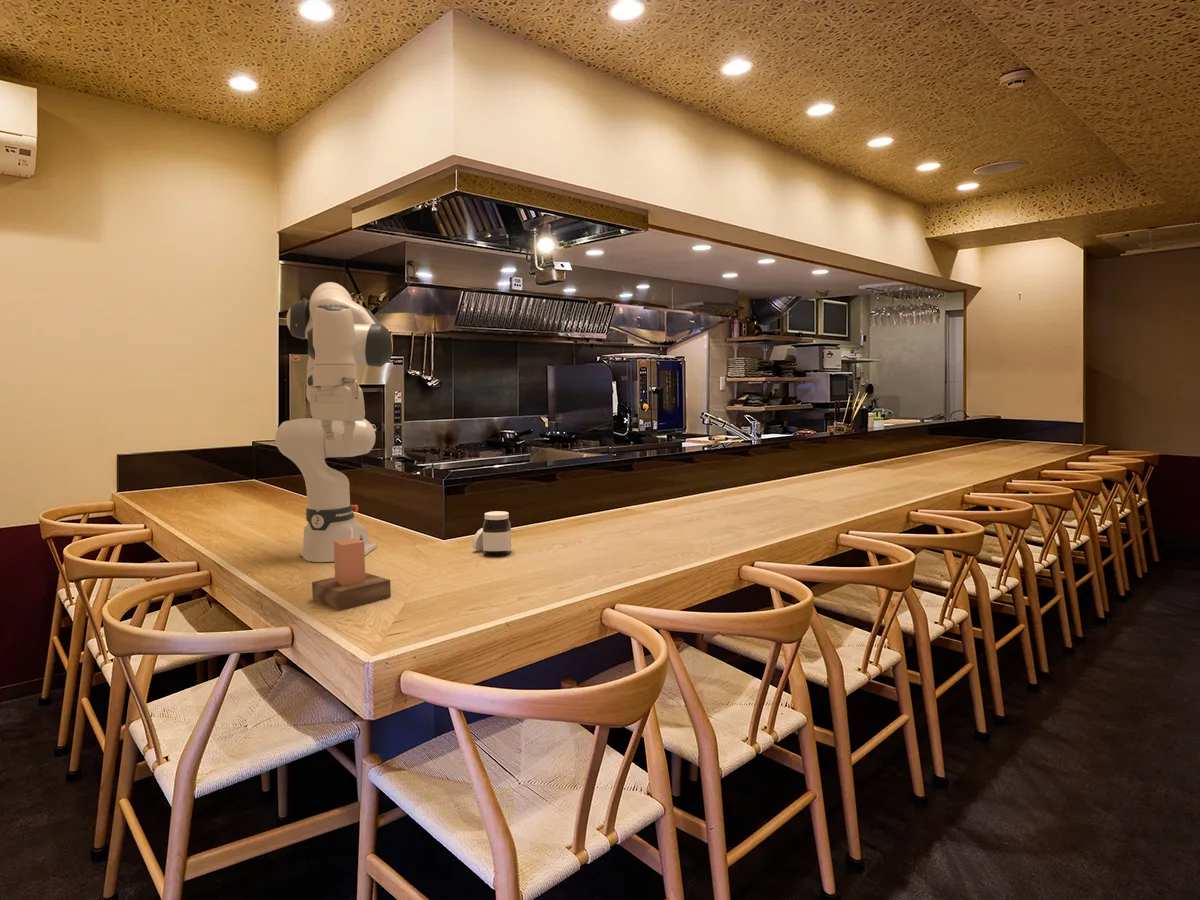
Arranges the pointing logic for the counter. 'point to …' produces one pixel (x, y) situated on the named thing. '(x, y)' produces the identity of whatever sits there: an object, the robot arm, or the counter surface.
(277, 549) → the counter surface
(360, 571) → the terracotta block
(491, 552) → the spread jar
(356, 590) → the walnut slab
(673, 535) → the counter surface
